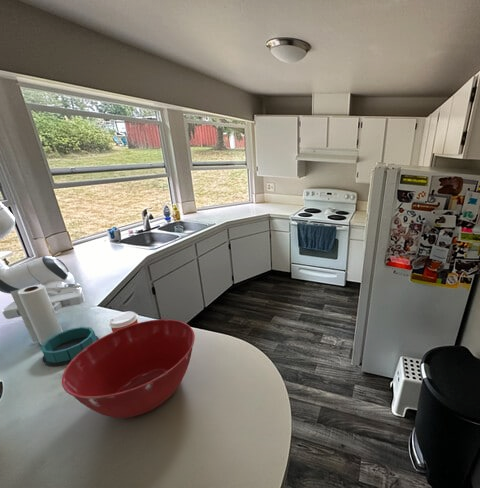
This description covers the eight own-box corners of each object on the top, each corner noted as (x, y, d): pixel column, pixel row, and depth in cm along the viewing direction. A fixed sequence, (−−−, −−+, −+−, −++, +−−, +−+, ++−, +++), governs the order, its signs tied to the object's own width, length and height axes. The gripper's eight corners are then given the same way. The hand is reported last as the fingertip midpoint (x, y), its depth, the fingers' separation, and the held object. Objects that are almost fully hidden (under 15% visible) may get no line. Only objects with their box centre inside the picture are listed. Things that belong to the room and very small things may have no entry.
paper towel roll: (68, 335, 93) (48, 285, 86) (48, 347, 87) (25, 294, 80) (54, 332, 95) (33, 282, 87) (33, 343, 89) (9, 291, 82)
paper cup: (119, 362, 82) (108, 327, 78) (117, 349, 88) (107, 316, 83) (147, 351, 87) (138, 318, 83) (144, 339, 93) (136, 307, 88)
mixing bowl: (127, 357, 85) (115, 319, 79) (213, 353, 87) (208, 316, 82) (47, 449, 58) (23, 401, 53) (176, 440, 61) (164, 393, 56)
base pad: (48, 373, 77) (43, 361, 76) (39, 353, 85) (33, 341, 83) (105, 347, 88) (101, 336, 87) (92, 331, 96) (88, 320, 94)
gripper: (9, 295, 91) (-10, 315, 80) (84, 282, 102) (76, 298, 91) (15, 310, 93) (-2, 331, 82) (88, 296, 104) (81, 313, 93)
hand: (40, 314), depth 86 cm, fingers open, 4 cm apart
